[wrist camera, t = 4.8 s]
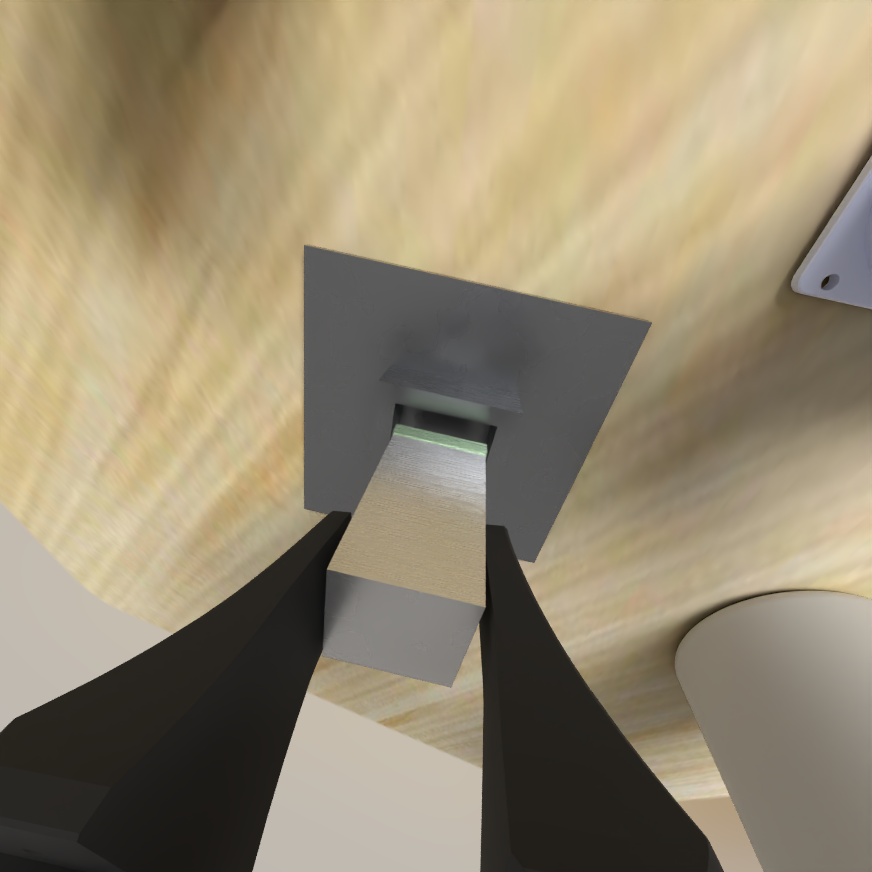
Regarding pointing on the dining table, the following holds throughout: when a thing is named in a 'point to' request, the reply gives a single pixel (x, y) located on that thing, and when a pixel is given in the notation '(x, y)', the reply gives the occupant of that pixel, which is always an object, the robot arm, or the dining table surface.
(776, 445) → the dining table surface
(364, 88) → the dining table surface
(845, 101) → the dining table surface
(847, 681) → the cylinder vase
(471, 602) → the column
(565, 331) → the stand base
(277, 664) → the robot arm
